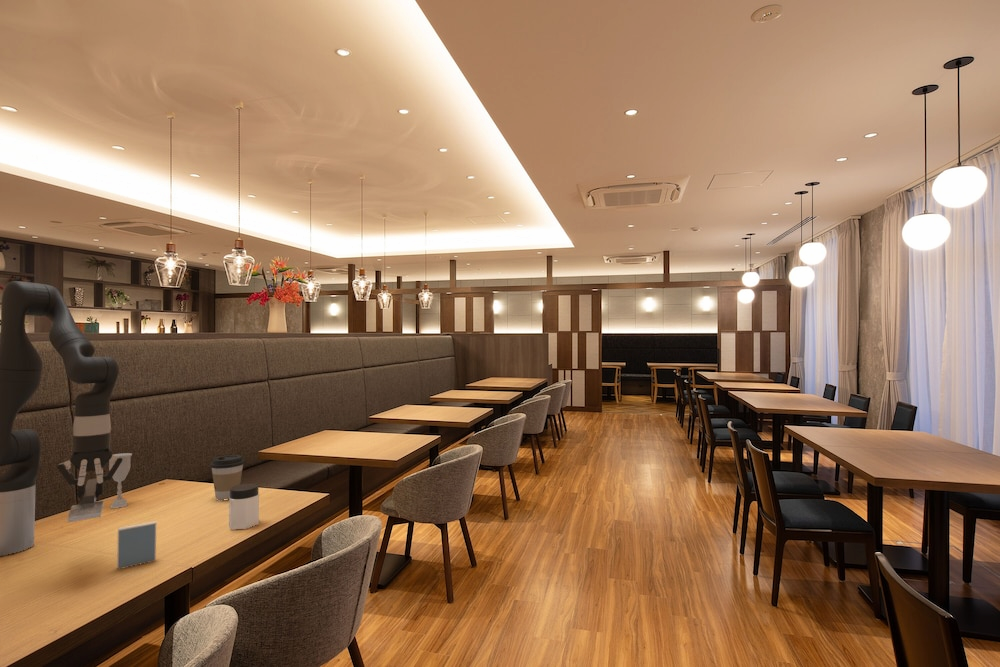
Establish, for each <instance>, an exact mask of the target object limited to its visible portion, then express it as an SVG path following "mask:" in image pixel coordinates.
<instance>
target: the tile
mask: <svg viewBox="0 0 1000 667" xmlns="http://www.w3.org/2000/svg"><path fill="white" fill-rule="evenodd" d="M116 543H117V548H116V550H117V551H116V554H117V556H116V558H117V559H116V562H117V563H116V569H117V568H122V569H124V568H123V567H126V568H129V567H128V566H131V567H133V566H132V565H135V566H137V565H136V564H140V563H144V564H146V563H145V562H148V563H152V562H151V561H153V562H156V561H157V521H156V520H154V521H149V522H143V523H138V524H132V525H128V526H121V527H117V542H116ZM155 560H156V561H155ZM140 565H141V564H140Z"/></svg>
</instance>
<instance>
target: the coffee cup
mask: <svg viewBox="0 0 1000 667" xmlns="http://www.w3.org/2000/svg"><path fill="white" fill-rule="evenodd" d="M244 464H245V459H243V457H242V456H241V455H240V454H230V455H229V454H228V455H220V456H217V457H214V458H213V459H212V462H211V463H210V466H209V468H210V469H211V472H212V481H213V488H214V495H215V499H218V500H224V499H229V496H230V488H232V487H234V486H237V485H241V482H242V474H243V468H244V467H243V466H244ZM218 500H217V501H218Z"/></svg>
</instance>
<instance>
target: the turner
mask: <svg viewBox="0 0 1000 667" xmlns="http://www.w3.org/2000/svg"><path fill="white" fill-rule="evenodd" d="M96 483H97V478H91V479H87V481H86V483H85V484H86V486H85V491H84V492H83V495H82V500H81V503H80V504H75V505H71V507H70V511H69V513H68V516H67V523H73V522H78V521H84V520H91V519H96V518H97V519H99V518H101V517H102V513H103V508H104V500H99V501H97V498H96Z"/></svg>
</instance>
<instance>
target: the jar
mask: <svg viewBox="0 0 1000 667" xmlns="http://www.w3.org/2000/svg"><path fill="white" fill-rule="evenodd" d="M228 501H229V502H228V503H229V504H228V527H229V529H230V530H231V531H237V530H236V529H243V530H248V529H251V528H253V527H255V525H256V526H259V524H260V494H259V484H256V483H242V484H240V485H237V486H234V487H232V488H230V496H229V500H228ZM252 526H253V527H252ZM250 527H251V528H250ZM247 528H248V529H247Z"/></svg>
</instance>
